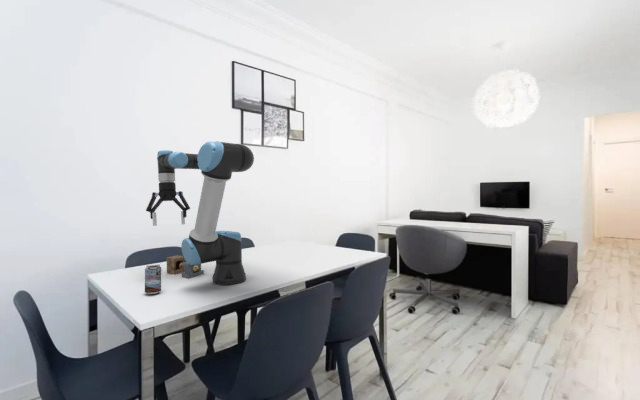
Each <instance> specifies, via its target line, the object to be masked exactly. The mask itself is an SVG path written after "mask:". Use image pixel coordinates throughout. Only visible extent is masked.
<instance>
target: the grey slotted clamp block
mask: <svg viewBox="0 0 640 400" xmlns="http://www.w3.org/2000/svg"><path fill="white" fill-rule="evenodd" d="M181 265H184V272H182V273H181V278H184V279H188V280H189V279H192V278H195V277H200V276H202V275H204V274H205V273H204V272H205V271H204V270H202V264H200V265H198V264H197V265H198V266H199V270H198V271H197V272H196V271H193V268H192V265H190V264H188V263H187V262H184V263H181Z"/></svg>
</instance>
